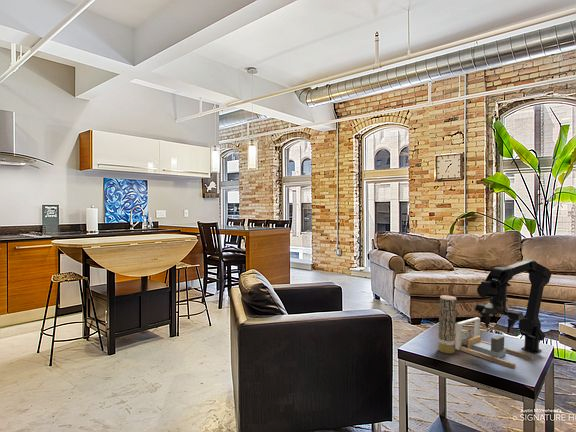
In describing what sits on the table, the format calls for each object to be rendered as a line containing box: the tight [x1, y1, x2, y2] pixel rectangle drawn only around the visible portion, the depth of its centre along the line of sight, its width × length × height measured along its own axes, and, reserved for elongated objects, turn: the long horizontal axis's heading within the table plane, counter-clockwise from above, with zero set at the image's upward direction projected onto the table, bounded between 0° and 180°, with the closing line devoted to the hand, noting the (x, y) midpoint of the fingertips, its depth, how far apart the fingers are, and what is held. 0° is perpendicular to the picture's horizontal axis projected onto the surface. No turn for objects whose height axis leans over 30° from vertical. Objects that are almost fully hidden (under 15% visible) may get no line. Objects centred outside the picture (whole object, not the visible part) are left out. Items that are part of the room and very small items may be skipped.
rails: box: [460, 339, 534, 369], centre depth 169 cm, size 18×23×2 cm
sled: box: [467, 334, 507, 359], centre depth 173 cm, size 10×13×8 cm
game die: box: [455, 328, 473, 348], centre depth 180 cm, size 9×8×10 cm
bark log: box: [437, 294, 457, 355], centre depth 172 cm, size 7×7×25 cm
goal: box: [454, 316, 481, 351], centre depth 180 cm, size 18×2×12 cm, turn 126°
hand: (497, 330), depth 169 cm, fingers open, 9 cm apart
